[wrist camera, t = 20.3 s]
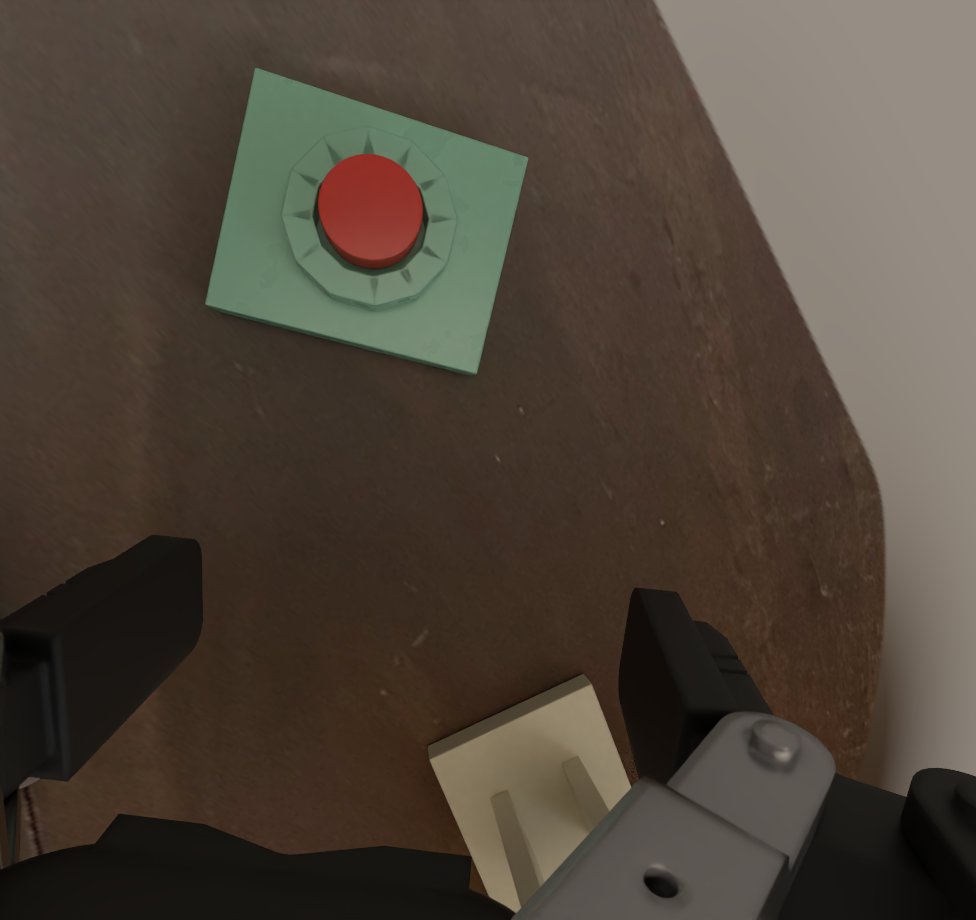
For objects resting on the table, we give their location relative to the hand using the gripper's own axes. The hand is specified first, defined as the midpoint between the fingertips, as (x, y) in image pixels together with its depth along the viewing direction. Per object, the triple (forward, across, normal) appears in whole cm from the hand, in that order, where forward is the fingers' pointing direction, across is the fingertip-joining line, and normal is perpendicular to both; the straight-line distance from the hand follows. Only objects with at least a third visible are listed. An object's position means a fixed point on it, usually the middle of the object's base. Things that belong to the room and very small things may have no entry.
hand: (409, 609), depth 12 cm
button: (+17, +5, -8) cm, 20 cm away
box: (+20, +6, -8) cm, 23 cm away
